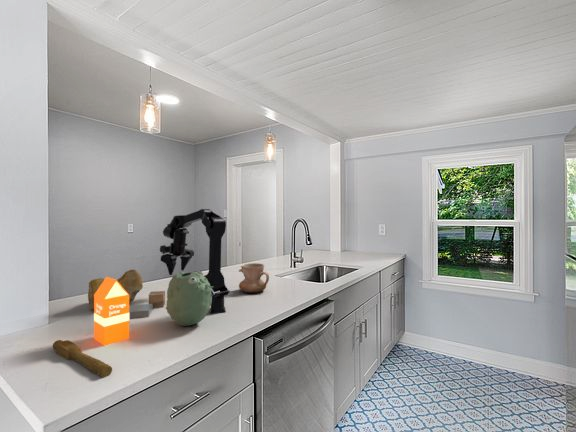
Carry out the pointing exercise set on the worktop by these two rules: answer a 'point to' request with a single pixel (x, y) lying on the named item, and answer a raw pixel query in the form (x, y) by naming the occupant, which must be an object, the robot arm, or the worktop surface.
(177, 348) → the worktop surface
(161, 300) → the cube
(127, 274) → the rough brown rock
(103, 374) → the tap handle
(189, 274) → the green bumpy vase
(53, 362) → the worktop surface
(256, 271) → the ceramic jug
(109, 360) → the worktop surface
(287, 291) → the worktop surface
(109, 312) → the orange juice
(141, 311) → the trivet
